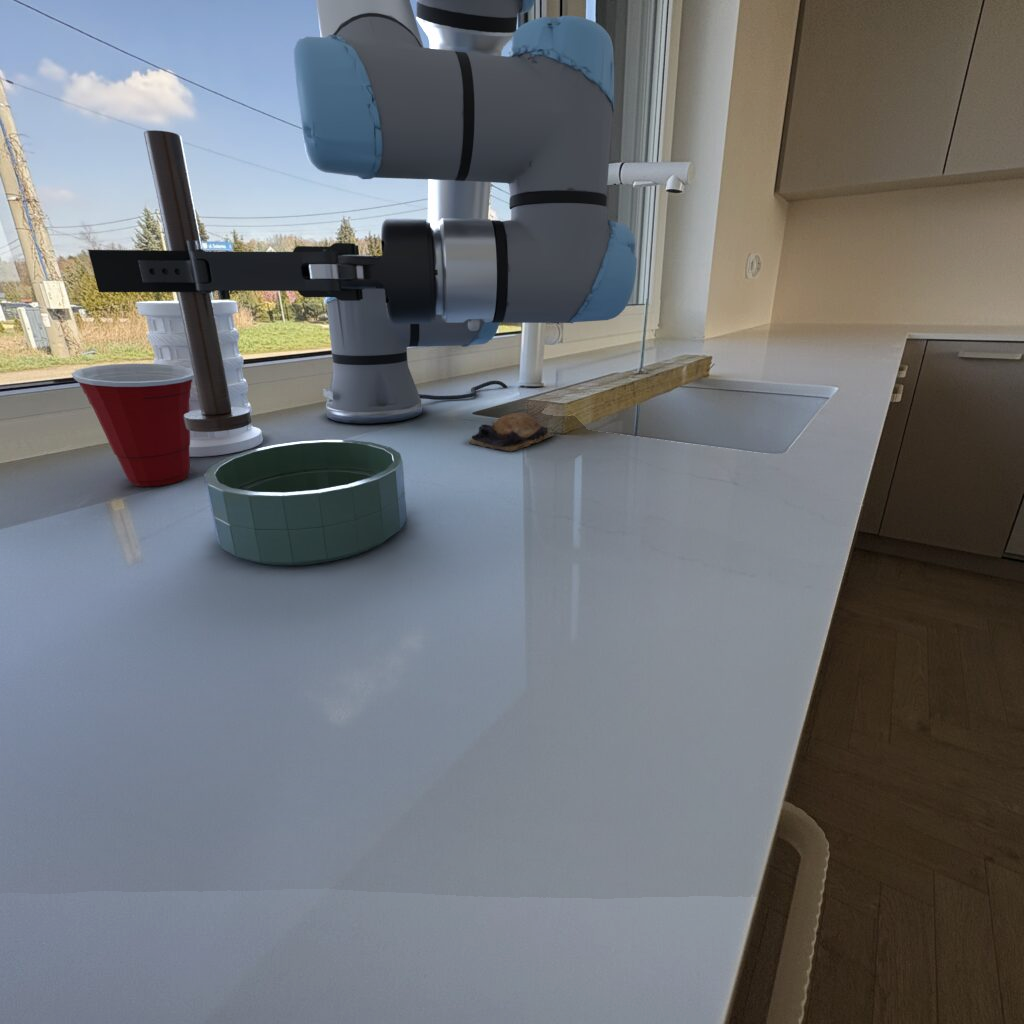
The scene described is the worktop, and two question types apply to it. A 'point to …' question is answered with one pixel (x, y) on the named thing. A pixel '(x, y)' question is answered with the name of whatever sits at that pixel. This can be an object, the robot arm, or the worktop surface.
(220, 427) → the stirring stick
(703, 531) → the worktop surface
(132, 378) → the plastic cup
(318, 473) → the bowl
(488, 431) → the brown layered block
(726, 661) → the worktop surface
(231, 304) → the decorative container
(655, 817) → the worktop surface
